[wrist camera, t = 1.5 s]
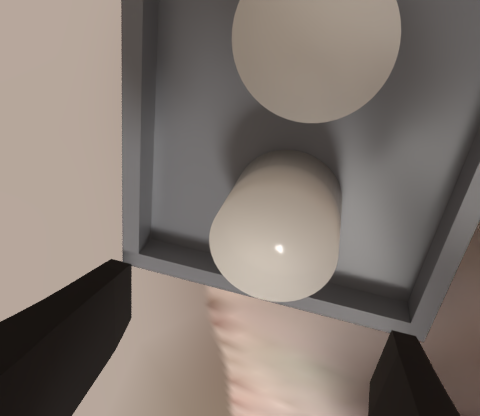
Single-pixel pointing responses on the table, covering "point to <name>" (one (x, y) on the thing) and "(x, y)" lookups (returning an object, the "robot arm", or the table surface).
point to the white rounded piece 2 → (279, 227)
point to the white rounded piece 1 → (315, 54)
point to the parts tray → (315, 144)
